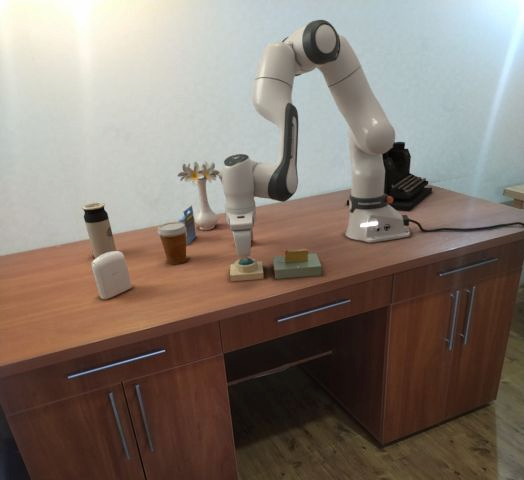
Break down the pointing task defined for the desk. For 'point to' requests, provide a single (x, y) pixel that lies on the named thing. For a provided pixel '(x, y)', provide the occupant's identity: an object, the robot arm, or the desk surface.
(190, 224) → the label tape box
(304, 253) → the yellow block red tip
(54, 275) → the desk surface
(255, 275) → the cream button base
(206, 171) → the flower vase
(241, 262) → the teal push button
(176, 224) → the disposable coffee cup
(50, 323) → the desk surface
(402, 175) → the typewriter
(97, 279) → the photo printer
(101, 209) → the travel mug
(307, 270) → the plate
